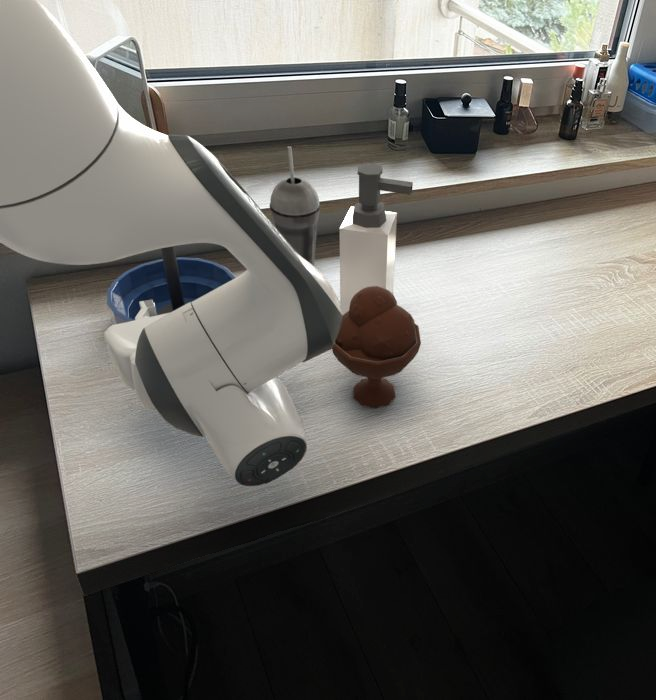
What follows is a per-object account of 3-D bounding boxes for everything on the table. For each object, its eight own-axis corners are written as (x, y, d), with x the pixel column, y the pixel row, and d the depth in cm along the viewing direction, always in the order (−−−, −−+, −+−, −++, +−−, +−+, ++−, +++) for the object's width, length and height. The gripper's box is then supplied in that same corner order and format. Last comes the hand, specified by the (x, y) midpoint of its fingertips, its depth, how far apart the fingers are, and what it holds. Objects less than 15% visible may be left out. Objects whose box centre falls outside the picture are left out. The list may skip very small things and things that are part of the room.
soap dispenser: (400, 325, 104) (408, 185, 91) (340, 316, 105) (339, 175, 91) (408, 300, 109) (416, 164, 96) (351, 292, 110) (351, 155, 96)
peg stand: (158, 339, 96) (133, 218, 85) (156, 313, 100) (132, 194, 89) (206, 332, 98) (187, 213, 87) (202, 307, 102) (184, 191, 91)
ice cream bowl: (313, 402, 90) (309, 303, 81) (364, 355, 98) (365, 261, 89) (385, 435, 87) (389, 337, 78) (431, 384, 95) (440, 290, 86)
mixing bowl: (116, 372, 91) (106, 334, 87) (115, 300, 102) (106, 264, 99) (249, 352, 96) (245, 316, 93) (234, 286, 108) (230, 251, 104)
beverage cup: (283, 289, 108) (274, 164, 96) (268, 264, 113) (258, 142, 101) (329, 280, 112) (326, 157, 99) (313, 256, 116) (308, 137, 104)
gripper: (314, 317, 80) (272, 256, 88) (115, 366, 70) (90, 292, 79) (316, 361, 83) (275, 298, 92) (127, 413, 74) (102, 338, 83)
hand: (188, 296), depth 86 cm, fingers open, 8 cm apart
